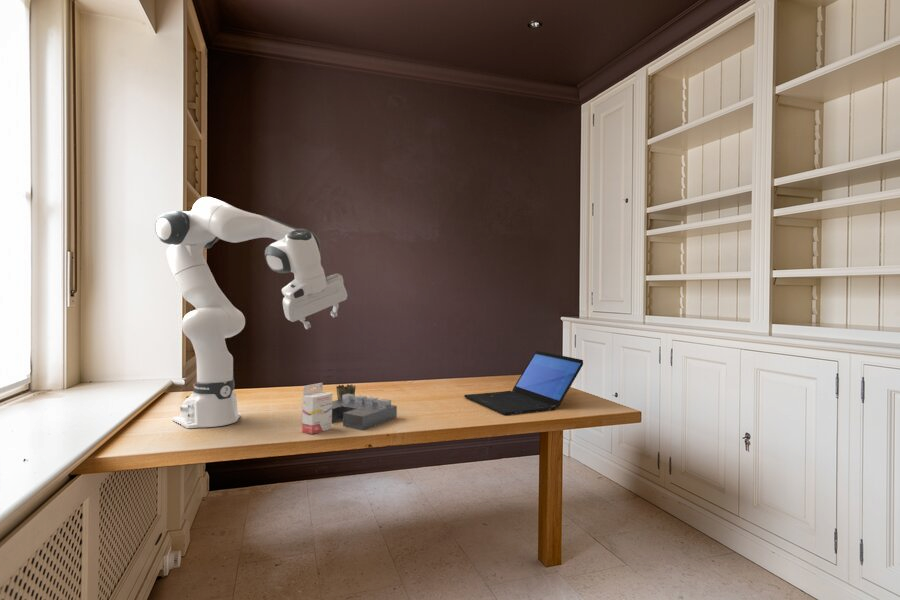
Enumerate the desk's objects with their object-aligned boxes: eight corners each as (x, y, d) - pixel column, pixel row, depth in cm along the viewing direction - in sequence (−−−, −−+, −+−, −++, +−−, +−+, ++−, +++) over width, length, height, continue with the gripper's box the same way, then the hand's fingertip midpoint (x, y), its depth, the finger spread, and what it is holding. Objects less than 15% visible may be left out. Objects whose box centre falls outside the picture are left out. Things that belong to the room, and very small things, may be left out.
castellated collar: (310, 419, 168) (310, 401, 168) (346, 409, 184) (346, 392, 183) (362, 430, 156) (362, 410, 156) (396, 418, 171) (396, 400, 171)
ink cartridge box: (312, 434, 150) (313, 387, 150) (301, 432, 153) (301, 386, 153) (332, 428, 157) (333, 383, 157) (321, 426, 160) (322, 382, 160)
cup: (336, 408, 184) (336, 388, 184) (335, 404, 192) (335, 384, 191) (356, 407, 186) (356, 387, 186) (354, 403, 194) (354, 383, 193)
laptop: (463, 399, 206) (463, 353, 206) (536, 392, 222) (536, 350, 222) (503, 417, 176) (504, 364, 176) (585, 408, 192) (585, 359, 192)
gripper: (336, 269, 155) (344, 307, 162) (276, 291, 144) (287, 331, 150) (346, 273, 151) (354, 312, 157) (285, 297, 140) (296, 338, 146)
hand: (321, 322), depth 154 cm, fingers open, 8 cm apart
